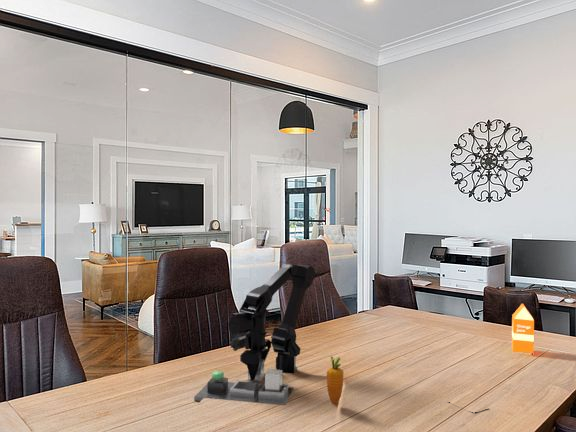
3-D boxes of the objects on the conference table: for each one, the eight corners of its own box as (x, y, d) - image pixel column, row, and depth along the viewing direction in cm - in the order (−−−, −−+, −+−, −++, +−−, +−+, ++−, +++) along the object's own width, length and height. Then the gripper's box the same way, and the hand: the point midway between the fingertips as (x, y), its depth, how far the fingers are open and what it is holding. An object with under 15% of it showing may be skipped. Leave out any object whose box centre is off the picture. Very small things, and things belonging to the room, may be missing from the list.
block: (282, 392, 147) (282, 370, 147) (279, 397, 143) (279, 374, 143) (268, 391, 148) (268, 368, 148) (264, 396, 144) (265, 373, 144)
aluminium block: (263, 379, 162) (264, 359, 161) (260, 384, 157) (260, 363, 157) (251, 378, 162) (251, 358, 162) (247, 383, 158) (248, 362, 158)
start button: (225, 376, 150) (225, 371, 150) (221, 380, 147) (221, 375, 147) (214, 375, 151) (214, 370, 151) (210, 379, 147) (210, 374, 147)
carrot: (325, 403, 142) (325, 353, 142) (341, 403, 142) (342, 353, 142) (327, 410, 137) (328, 358, 137) (344, 410, 138) (345, 358, 137)
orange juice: (512, 353, 195) (513, 305, 195) (511, 348, 204) (512, 302, 203) (533, 356, 192) (534, 307, 192) (531, 350, 201) (532, 303, 200)
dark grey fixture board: (293, 391, 151) (293, 378, 151) (285, 409, 138) (285, 394, 138) (210, 384, 157) (210, 371, 157) (194, 400, 143) (194, 386, 143)
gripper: (241, 321, 170) (241, 364, 171) (225, 334, 152) (224, 383, 152) (271, 323, 168) (271, 367, 168) (258, 337, 150) (258, 386, 150)
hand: (256, 375), depth 160 cm, fingers open, 9 cm apart
